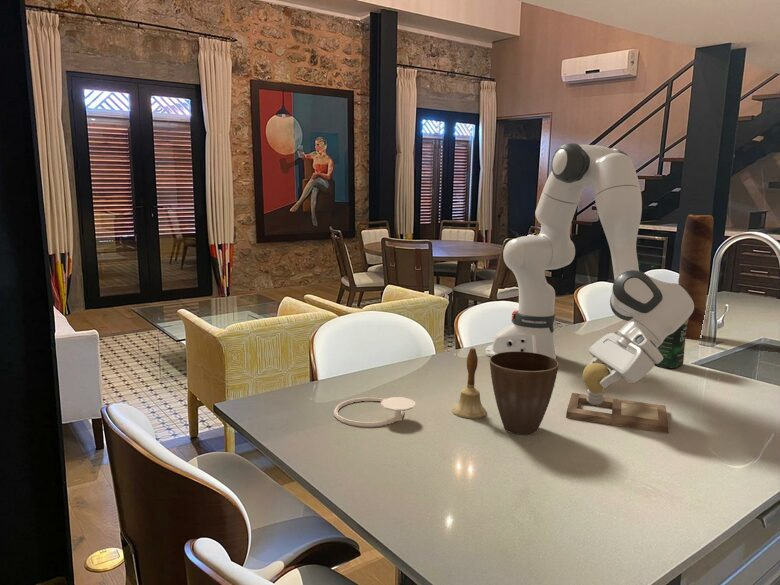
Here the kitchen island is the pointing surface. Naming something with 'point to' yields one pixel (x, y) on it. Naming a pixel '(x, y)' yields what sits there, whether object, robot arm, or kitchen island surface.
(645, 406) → the socket board
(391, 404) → the hand towel holder
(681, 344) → the coffee jar
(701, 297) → the wafer roll
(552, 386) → the plant pot
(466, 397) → the hand bell
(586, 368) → the light bulb
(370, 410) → the kitchen island surface
